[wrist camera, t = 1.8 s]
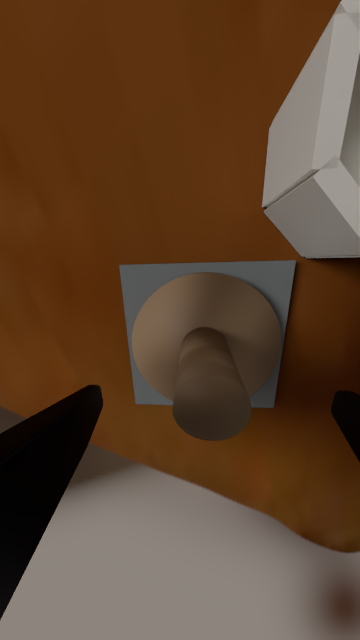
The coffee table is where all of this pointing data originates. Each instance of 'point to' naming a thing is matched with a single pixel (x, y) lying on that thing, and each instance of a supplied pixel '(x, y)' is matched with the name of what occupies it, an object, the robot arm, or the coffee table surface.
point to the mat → (261, 275)
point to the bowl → (320, 147)
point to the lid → (207, 350)
